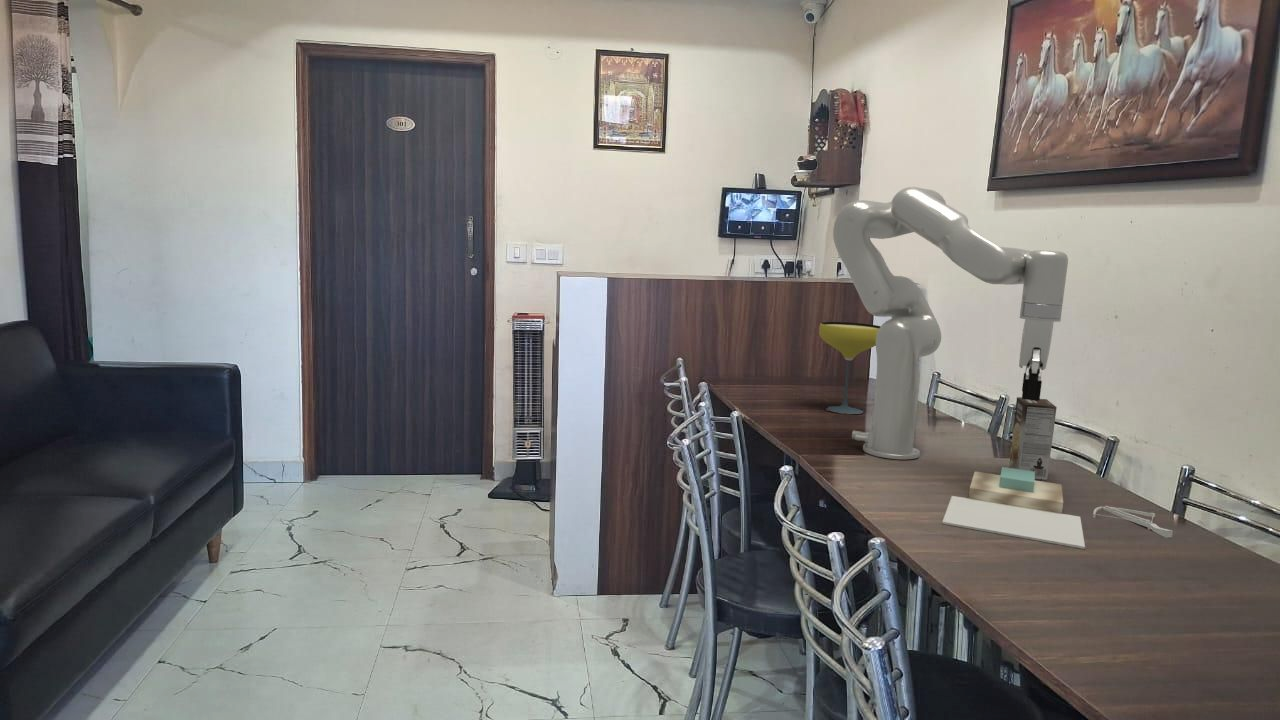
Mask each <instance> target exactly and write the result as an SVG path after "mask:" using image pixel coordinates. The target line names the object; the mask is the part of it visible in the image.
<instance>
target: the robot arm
mask: <svg viewBox="0 0 1280 720" xmlns="http://www.w3.org/2000/svg"><path fill="white" fill-rule="evenodd" d="M832 231H833V232H832V233H833V235H832V236H833V242H834V246H835V249H836V251H837V253H838V255H839V258H840V260H841V261H842V263H843V264H844V266H845V268H846V270H847V272H848V275H849V276H850V279H851V282H852V283H853V286H854V287H855V290H856V291H857V293H858V296H859V299H860V300H861V302H862V304H863V306H864V308H865V309H866V311H867V312H868V313H869V314H870V315H872V316H874V317H880V318H881V317H885V318H887V317H890V319H888V320H886V321H884V322H883V323H882V324H881V325H880V326H881V327H880V328H879V330H878V332H877V336H876V346H875V350H876V351H875V353H876V375H875V376H876V379H875V391H874V401H873V412H872V424H871V429H870V430H869V431H866V432H865V431H860V430H852V433H851V438H852V439H853V440H855V441H858V442H859V441H860V442H861V441H862V442H865V443H864V444H863V446H862V450H863V451H864V452H865V453H867V454H869V455H871V456H875V457H878V458H879V457H880V458H884V459H888V460H889V459H891V460H914V459H917V458H919V457H920V454H921V452H920V450H919V449H918V448H917V447H916V448H915V446H914V440H915V431H916V430H915V429H916V420H917V410H918V403H919V402H918V400H919V391H920V380H921V379H920V376H921V375H920V366H919V362H918V361H919V360H918V358H922V357H928V356H930V355H932V354H934V353H935V352H936V351H937V350H938V348H939V347H940V345H941V342H942V332H941V328H940V326H939V322H938V320H937V318H936V316H935V315H934V313H933V311H932V308H931V307H930V305H929V303H928V301H927V299H926V297H925V295H924V293H923V292H922V290H921V288H920V287H919V285H918V284H917V283H916V282H914V281H913V280H912V279H911V278H908V277H906V276H902V275H894V274H893V273H892V272H891V271H890V269H889V267H888V264H887V263H886V261H885V258H884V257H883V255H882V253H881V252H880V250H879V249H878V248H877V247H876V246H875V245H874V244H873V242H872V241H871V239H879V240H885V239H892V238H896V237H900V236H904V235H907V234H911V233H915V234H917V235H918V236H920V237H921V238H923V239H924V240H927V242H929V243H931V244H932V245H934V246H935V247H937V248H939V249H940V250H941V251H942V253H944V255H945V256H947V258H948V259H950V261H951V262H953V264H955V265H957V266H958V267H960V269H963V270H964V271H965V272H967V273H969V274H971V275H972V276H973V277H974V278H977V279H979V280H980V281H982V282H985V283H986V284H987V283H988V284H991V285H1014V286H1015V285H1022V286H1023V287H1022V294H1021V295H1022V296H1021V302H1020V303H1021V305H1020V309H1019V310H1020V313H1019V319H1022V320H1024V324H1023V329H1022V337H1021V342H1020V343H1021V344H1020V352H1019V362H1018V366H1019V368H1020V369H1023V367H1025V372H1024V373H1023V379H1022V387H1021V388H1022V389H1021V391H1022V394H1021V397H1022V399H1026V400H1034V401H1039V400H1040V399H1041V391H1042V383H1043V380H1042V375H1043V374H1042V373H1043V371H1044V370H1046V369H1047V363H1048V359H1049V356H1050V350H1051V343H1052V337H1053V329H1054V322H1055V323H1057V322H1059V323H1060V322H1061V321H1062V319H1061V318H1062V313H1063V312H1062V311H1063V303H1064V295H1065V290H1066V289H1065V288H1066V280H1067V274H1068V273H1067V272H1068V265H1069V258H1068V254H1066V253H1065V252H1063V251H1056V250H1055V251H1054V250H1026V249H1023V248H1022V249H1021V248H1015V247H1005V246H998V245H997V244H996V243H994V242H992V241H990V240H988V239H986V238H985V237H983V236H982V235H980V234H979V233H977V232H975V231H974V230H973V229H972V228H971V227H970V225H969V219H968V217H967V215H965V214H964V213H962V212H960V211H958V210H957V209H955V208H953V207H952V206H950V205H948V204H947V202H946V200H945V199H944V197H943V196H942V194H940V193H939V192H937V191H936V190H932V189H928V188H922V187H921V188H920V187H917V186H916V187H915V186H912V187H911V186H909V187H906V188H902V189H900V190H899V191H898V192H897V193H896V194H895V195H894V196H893V197H892V200H891V201H890V202H880V201H879V202H878V201H874V200H855V201H852V202H849V203H847V204H846V205H844V206H843V207H842V208H840V210H839V212H838V214H837V215H836V218H835V221H834V225H833V229H832Z"/></svg>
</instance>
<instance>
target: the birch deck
mask: <svg viewBox="0 0 1280 720" xmlns="http://www.w3.org/2000/svg"><path fill="white" fill-rule="evenodd" d="M1000 476H1001V474H994V473H987V472H981V471H974V473H973V476H972V478H971V482H970V486H969V490H968V491H969V493H968V498H969V499H975V500H981V501H987V502H993V503H999V504H1005V505H1012V506H1018V507H1024V508H1030V509H1036V510H1042V511H1048V512H1055V513H1061V514H1063V509H1064V508H1063V507H1064V497H1063V496H1064V494H1063V487H1062V484H1060V483H1055V482H1050V481H1049V482H1048V481H1043V480H1042V481H1040V480H1035V483H1034V491H1033V492H1027V491H1020V490H1014V489H1007V488H1001V487H999V484H1000Z"/></svg>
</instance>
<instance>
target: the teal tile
mask: <svg viewBox="0 0 1280 720" xmlns="http://www.w3.org/2000/svg"><path fill="white" fill-rule="evenodd" d="M1000 475H1001V476H1000V484H999V487H1001V488H1007V489H1014V490H1020V491H1027V492H1033V491H1034V483H1035V481H1036V479H1035V472H1034V471H1027V470H1020V469H1013V468H1010V467H1005V466H1002V467H1001V471H1000Z"/></svg>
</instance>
